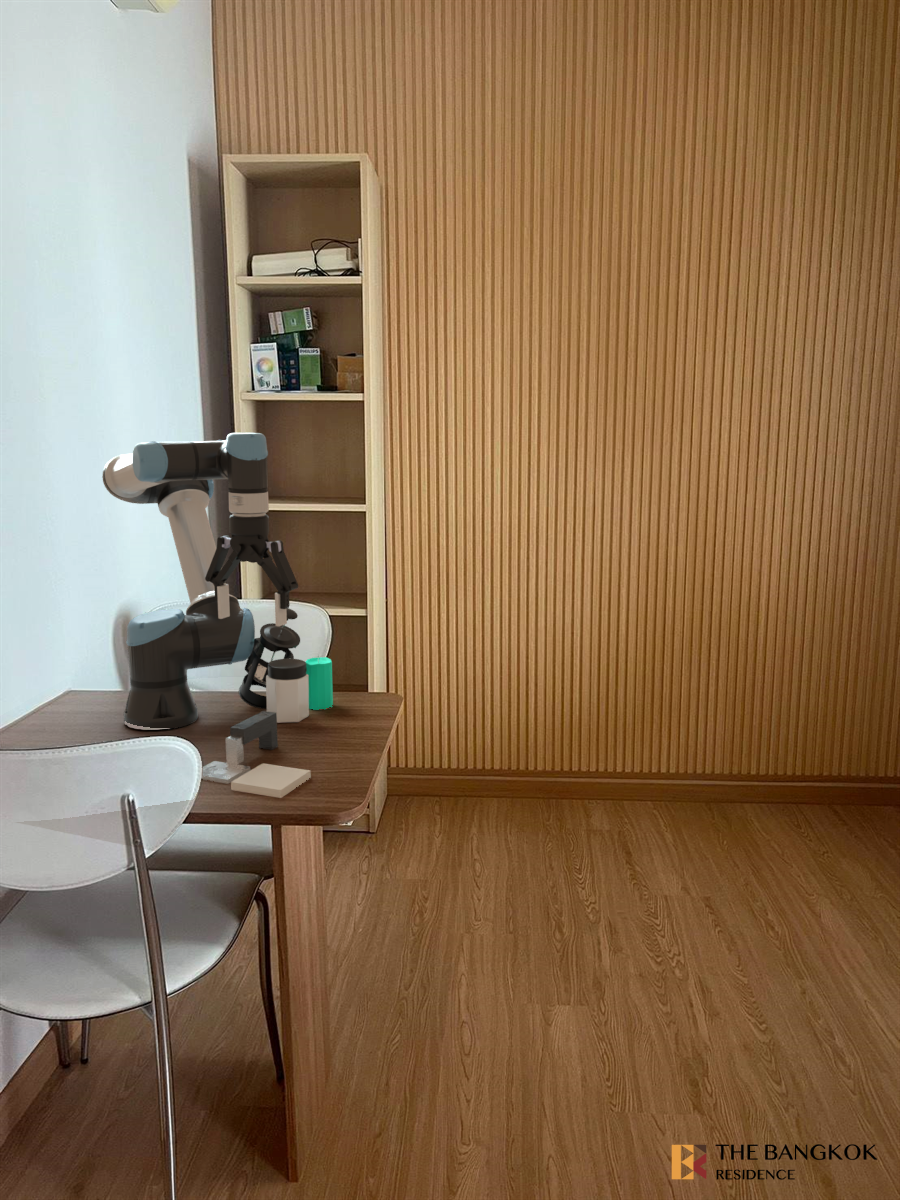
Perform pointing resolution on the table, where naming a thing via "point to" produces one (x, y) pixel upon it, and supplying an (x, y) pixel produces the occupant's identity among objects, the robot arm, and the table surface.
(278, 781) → the tile
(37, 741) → the table surface
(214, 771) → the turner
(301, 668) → the jar
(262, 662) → the french press
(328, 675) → the candle
